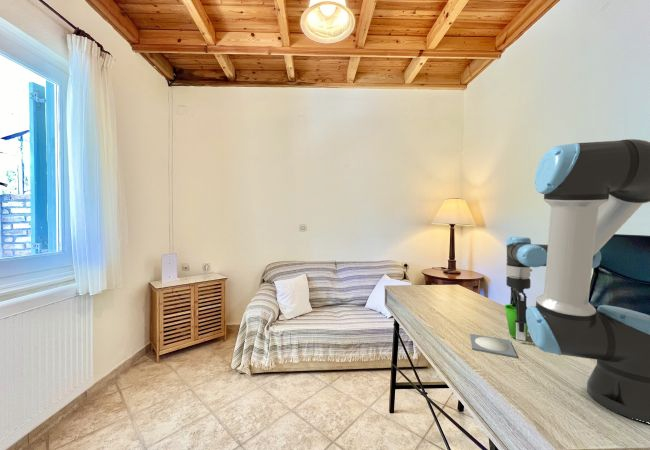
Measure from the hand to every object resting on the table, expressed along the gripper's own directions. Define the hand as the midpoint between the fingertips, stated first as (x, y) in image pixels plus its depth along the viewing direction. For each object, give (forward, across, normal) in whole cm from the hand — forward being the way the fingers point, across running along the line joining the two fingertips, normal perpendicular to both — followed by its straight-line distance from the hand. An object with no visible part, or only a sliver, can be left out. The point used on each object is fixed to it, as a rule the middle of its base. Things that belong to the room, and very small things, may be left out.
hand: (517, 334), depth 103 cm
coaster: (+1, -12, +10) cm, 15 cm away
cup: (+1, 0, 0) cm, 1 cm away
